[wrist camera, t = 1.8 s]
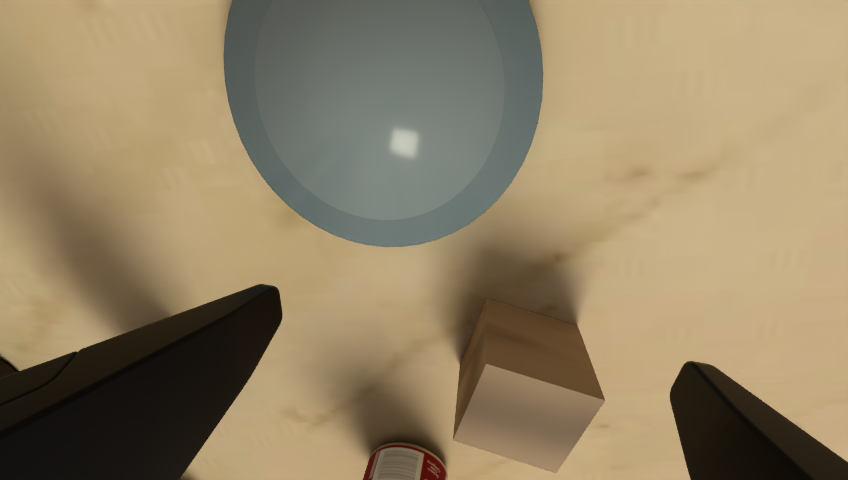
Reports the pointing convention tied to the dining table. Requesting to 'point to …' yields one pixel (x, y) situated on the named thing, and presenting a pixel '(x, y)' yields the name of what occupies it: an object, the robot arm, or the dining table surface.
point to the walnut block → (525, 387)
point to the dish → (385, 108)
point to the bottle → (6, 369)
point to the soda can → (404, 463)
